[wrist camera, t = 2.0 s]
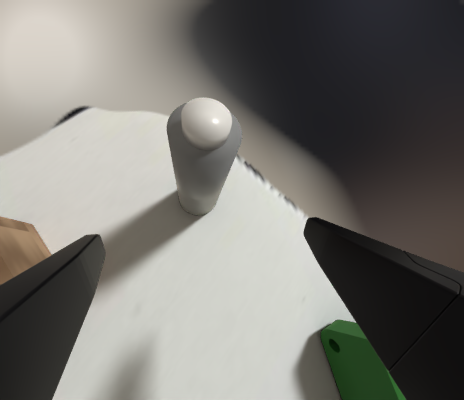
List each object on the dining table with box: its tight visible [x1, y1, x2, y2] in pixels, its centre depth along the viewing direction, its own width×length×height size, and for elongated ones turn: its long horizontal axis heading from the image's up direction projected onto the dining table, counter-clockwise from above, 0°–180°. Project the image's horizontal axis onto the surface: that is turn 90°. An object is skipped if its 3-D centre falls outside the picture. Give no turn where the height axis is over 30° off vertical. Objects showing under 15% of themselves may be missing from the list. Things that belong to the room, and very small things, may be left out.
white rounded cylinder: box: [167, 98, 242, 215], centre depth 15 cm, size 4×4×12 cm
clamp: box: [321, 320, 406, 400], centre depth 17 cm, size 12×6×9 cm, turn 10°
